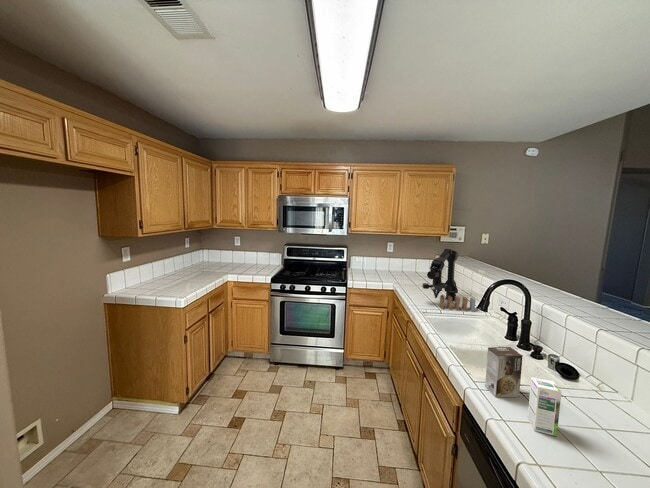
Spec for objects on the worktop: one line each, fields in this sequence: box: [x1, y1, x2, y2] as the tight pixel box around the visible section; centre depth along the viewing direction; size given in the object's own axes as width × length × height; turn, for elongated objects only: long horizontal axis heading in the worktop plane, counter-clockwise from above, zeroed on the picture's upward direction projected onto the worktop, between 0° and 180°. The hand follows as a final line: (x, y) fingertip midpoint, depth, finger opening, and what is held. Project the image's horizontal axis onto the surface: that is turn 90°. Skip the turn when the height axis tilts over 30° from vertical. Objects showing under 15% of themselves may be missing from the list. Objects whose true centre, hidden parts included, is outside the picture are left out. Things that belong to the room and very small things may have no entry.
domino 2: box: [446, 296, 453, 311], centre depth 188 cm, size 2×5×9 cm, turn 167°
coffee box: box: [484, 346, 523, 398], centre depth 98 cm, size 9×6×16 cm
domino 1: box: [439, 294, 446, 310], centre depth 189 cm, size 2×5×9 cm, turn 168°
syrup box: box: [527, 377, 562, 437], centre depth 81 cm, size 6×6×14 cm
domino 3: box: [453, 295, 461, 312], centre depth 187 cm, size 2×5×9 cm, turn 168°
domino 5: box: [469, 297, 476, 313], centre depth 185 cm, size 2×5×9 cm, turn 167°
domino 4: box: [461, 296, 469, 312], centre depth 186 cm, size 2×5×9 cm, turn 168°
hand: (435, 298), depth 190 cm, fingers closed
